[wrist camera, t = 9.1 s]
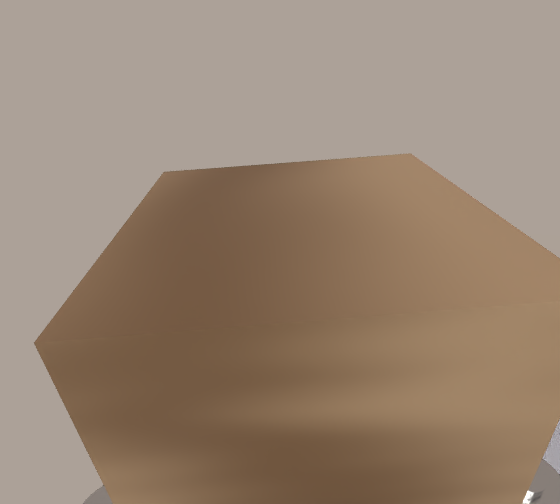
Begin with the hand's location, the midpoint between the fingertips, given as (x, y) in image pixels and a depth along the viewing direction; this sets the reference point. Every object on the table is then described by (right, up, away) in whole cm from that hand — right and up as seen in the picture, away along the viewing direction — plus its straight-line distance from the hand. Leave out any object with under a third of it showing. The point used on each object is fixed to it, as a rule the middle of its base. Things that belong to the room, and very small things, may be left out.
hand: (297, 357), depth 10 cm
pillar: (+1, -7, +1) cm, 7 cm away
